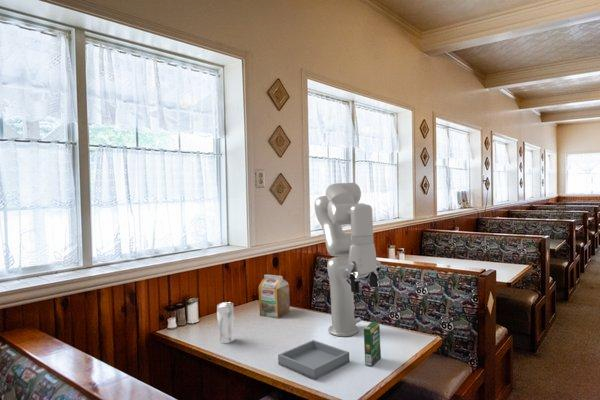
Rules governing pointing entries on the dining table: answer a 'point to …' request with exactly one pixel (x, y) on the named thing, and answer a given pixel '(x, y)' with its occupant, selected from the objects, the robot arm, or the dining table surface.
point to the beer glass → (226, 321)
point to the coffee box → (372, 343)
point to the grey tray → (313, 359)
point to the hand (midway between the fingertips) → (364, 289)
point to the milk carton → (274, 297)
